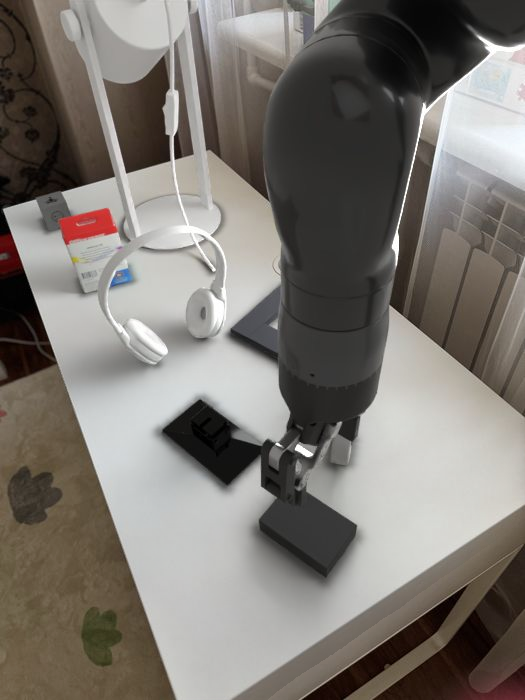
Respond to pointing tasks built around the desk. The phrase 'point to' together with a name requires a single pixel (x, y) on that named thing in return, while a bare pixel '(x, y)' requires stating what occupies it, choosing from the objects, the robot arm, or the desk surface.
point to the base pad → (261, 325)
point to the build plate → (213, 441)
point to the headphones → (201, 308)
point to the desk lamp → (134, 64)
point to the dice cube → (53, 209)
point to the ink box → (93, 247)
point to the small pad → (309, 532)
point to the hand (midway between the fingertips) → (320, 465)
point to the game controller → (341, 450)
